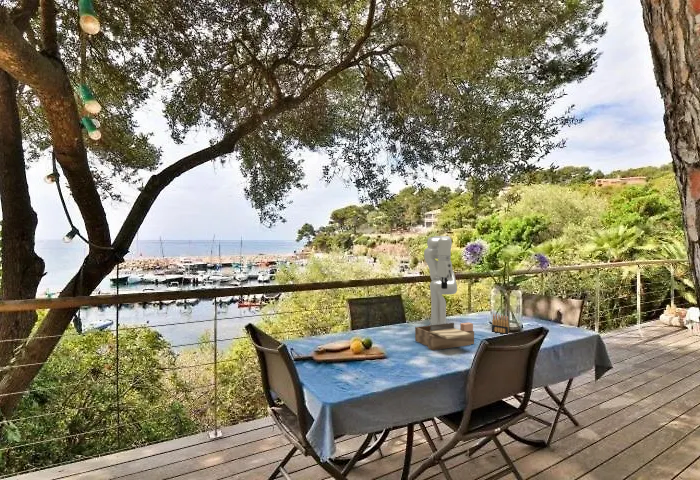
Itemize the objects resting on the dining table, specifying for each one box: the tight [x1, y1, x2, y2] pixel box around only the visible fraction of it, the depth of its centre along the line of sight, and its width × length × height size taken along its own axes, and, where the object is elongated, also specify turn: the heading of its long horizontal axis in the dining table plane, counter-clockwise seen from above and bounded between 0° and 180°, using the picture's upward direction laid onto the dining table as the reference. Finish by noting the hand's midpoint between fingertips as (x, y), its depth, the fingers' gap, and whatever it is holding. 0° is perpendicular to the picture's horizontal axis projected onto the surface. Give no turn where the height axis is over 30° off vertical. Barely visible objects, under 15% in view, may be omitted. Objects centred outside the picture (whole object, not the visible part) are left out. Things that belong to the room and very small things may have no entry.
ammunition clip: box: [491, 313, 510, 336], centre depth 271 cm, size 11×2×12 cm, turn 45°
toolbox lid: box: [430, 322, 472, 339], centre depth 237 cm, size 16×16×4 cm
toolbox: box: [414, 324, 475, 351], centre depth 250 cm, size 21×28×8 cm
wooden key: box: [459, 322, 474, 332], centre depth 247 cm, size 4×6×4 cm, turn 114°
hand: (444, 288), depth 265 cm, fingers closed
